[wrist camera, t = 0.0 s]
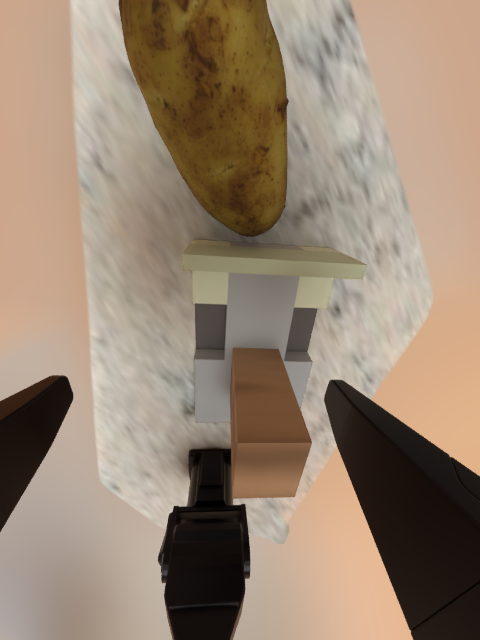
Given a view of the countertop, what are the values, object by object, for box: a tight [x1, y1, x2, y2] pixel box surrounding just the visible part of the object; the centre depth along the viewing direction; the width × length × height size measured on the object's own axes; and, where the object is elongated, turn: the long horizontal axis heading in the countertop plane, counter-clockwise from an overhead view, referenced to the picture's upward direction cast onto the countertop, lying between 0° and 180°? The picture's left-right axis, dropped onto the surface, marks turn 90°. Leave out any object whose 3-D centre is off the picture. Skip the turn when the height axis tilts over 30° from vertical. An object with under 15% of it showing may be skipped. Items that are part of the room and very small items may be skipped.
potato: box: [119, 0, 289, 237], centre depth 13 cm, size 8×13×8 cm, turn 4°
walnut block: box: [230, 348, 312, 499], centre depth 20 cm, size 6×4×10 cm
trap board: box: [183, 239, 367, 423], centre depth 22 cm, size 20×12×6 cm, turn 176°
